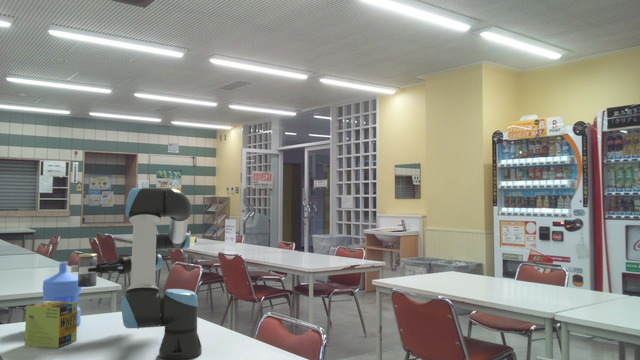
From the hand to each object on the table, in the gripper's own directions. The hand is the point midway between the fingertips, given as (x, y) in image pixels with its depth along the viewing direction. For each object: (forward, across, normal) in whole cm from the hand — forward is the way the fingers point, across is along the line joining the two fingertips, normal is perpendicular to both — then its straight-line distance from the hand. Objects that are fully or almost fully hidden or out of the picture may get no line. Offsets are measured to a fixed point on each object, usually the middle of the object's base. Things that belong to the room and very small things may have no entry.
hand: (75, 269), depth 203 cm
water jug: (-5, +26, -28) cm, 39 cm away
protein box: (+9, 0, -28) cm, 29 cm away
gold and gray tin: (-5, 0, -7) cm, 9 cm away
